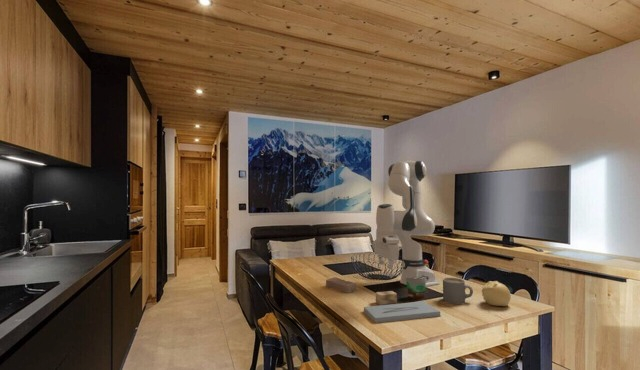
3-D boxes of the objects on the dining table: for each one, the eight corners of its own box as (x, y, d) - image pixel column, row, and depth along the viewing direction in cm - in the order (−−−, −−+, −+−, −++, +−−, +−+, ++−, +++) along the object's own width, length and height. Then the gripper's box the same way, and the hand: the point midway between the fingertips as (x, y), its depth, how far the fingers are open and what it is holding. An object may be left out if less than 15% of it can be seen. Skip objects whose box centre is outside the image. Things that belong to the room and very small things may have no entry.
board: (423, 305, 149) (423, 301, 149) (440, 316, 136) (440, 311, 136) (363, 311, 142) (363, 306, 142) (375, 322, 129) (375, 317, 129)
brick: (357, 290, 173) (357, 281, 174) (347, 294, 167) (347, 285, 168) (335, 284, 185) (335, 276, 185) (325, 287, 179) (325, 279, 179)
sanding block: (392, 301, 156) (392, 290, 156) (397, 304, 151) (396, 293, 151) (375, 302, 154) (375, 292, 154) (379, 305, 149) (379, 295, 149)
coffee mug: (441, 301, 154) (440, 281, 155) (445, 296, 163) (445, 276, 163) (471, 306, 147) (470, 285, 147) (474, 300, 155) (473, 280, 156)
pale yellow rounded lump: (483, 298, 159) (483, 276, 159) (511, 303, 152) (511, 280, 152) (480, 305, 149) (479, 282, 150) (509, 310, 142) (509, 286, 143)
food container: (414, 301, 155) (414, 280, 156) (405, 297, 161) (405, 277, 161) (432, 297, 161) (432, 277, 161) (423, 293, 167) (423, 274, 167)
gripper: (371, 235, 163) (371, 262, 162) (388, 240, 143) (388, 271, 142) (382, 234, 164) (382, 261, 164) (401, 240, 144) (401, 270, 144)
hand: (385, 266), depth 153 cm, fingers open, 8 cm apart
